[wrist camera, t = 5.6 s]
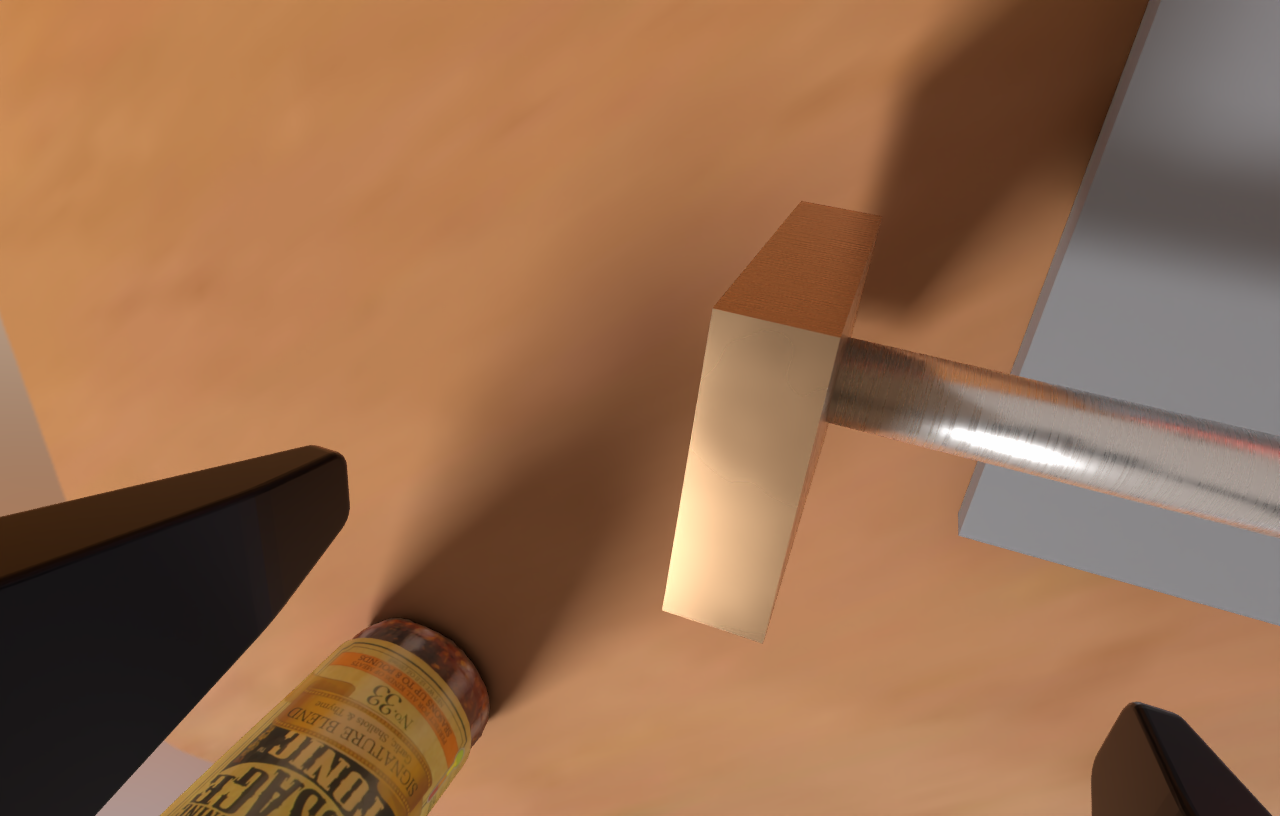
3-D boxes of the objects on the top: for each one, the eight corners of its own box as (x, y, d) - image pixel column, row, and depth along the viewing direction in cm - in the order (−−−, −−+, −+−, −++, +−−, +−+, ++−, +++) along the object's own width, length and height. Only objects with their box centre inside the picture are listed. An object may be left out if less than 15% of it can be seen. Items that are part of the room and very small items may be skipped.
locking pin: (1586, 350, 13) (2148, 639, 7) (1409, 589, 15) (1709, 958, 9) (801, 201, 16) (712, 308, 10) (756, 418, 18) (661, 609, 12)
